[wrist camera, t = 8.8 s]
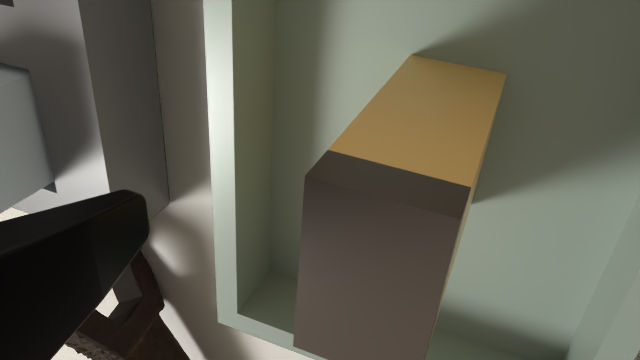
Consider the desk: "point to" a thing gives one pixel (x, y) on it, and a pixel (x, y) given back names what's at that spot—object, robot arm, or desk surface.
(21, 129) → the white rectangular block
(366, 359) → the tan and brown block
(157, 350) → the wrench
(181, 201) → the desk surface
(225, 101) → the parts tray
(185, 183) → the desk surface
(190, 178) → the desk surface
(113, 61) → the fuse block
